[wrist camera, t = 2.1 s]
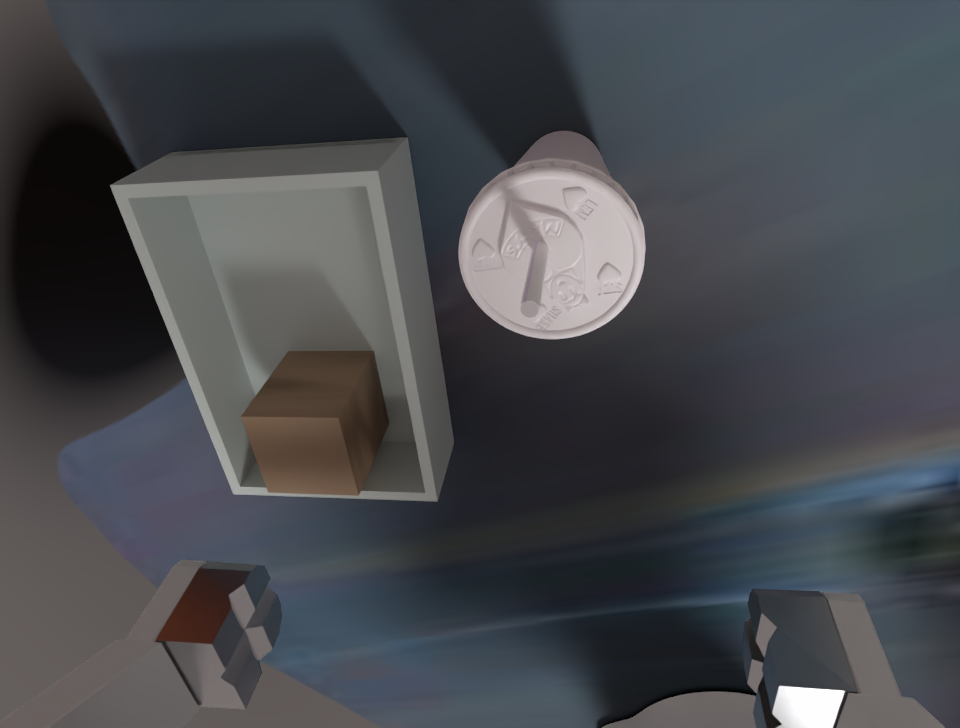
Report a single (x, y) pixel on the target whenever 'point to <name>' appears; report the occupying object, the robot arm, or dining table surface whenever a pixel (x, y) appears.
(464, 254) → the smoothie
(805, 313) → the dining table surface
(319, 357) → the walnut block
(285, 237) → the crate
